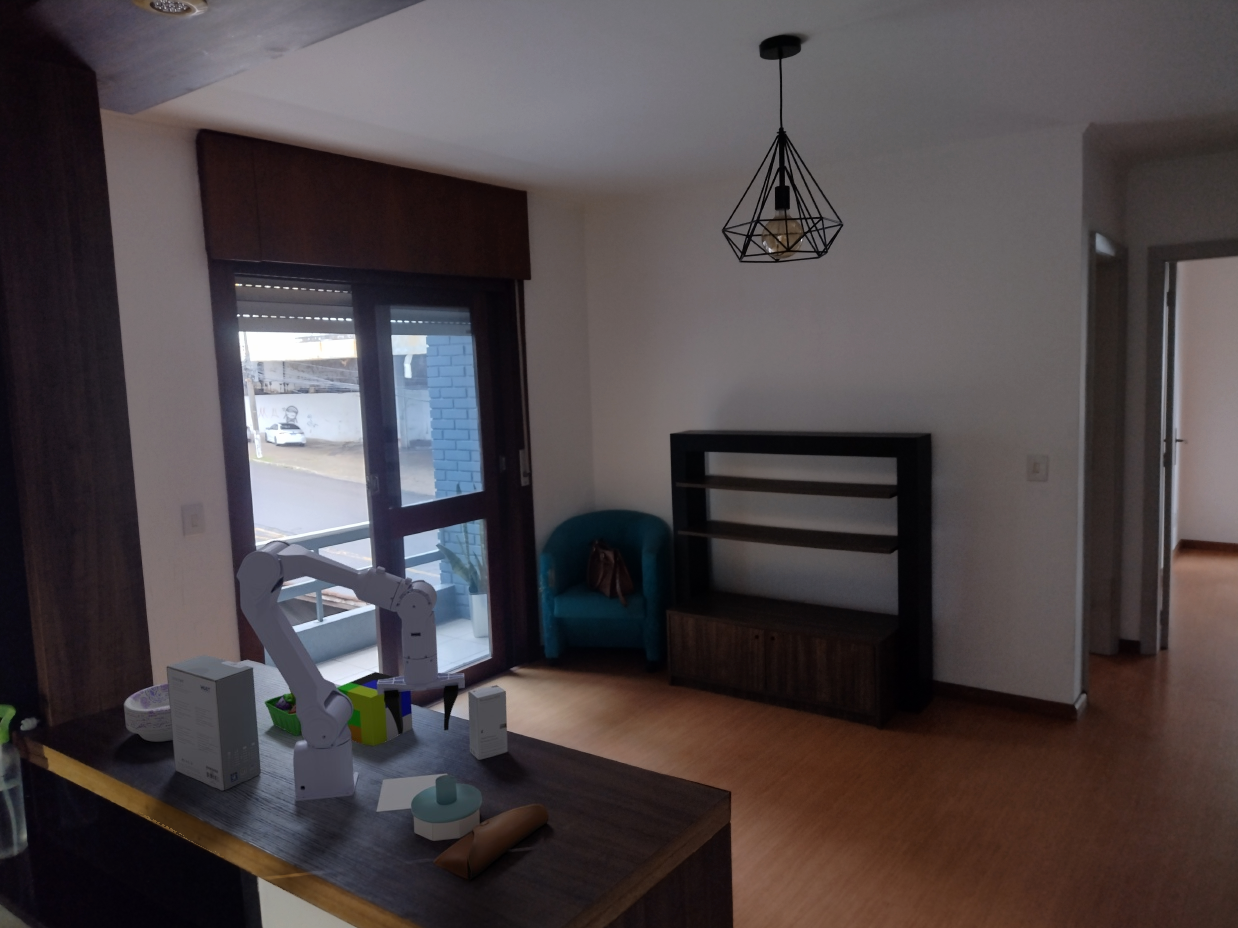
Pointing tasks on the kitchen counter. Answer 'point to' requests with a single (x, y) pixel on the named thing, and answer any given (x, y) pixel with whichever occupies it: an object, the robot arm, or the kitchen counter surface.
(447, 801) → the lid
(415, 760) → the kitchen counter surface
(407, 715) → the puzzle toy
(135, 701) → the paper bowls
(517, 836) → the sunglasses case
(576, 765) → the kitchen counter surface
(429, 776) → the plate
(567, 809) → the kitchen counter surface
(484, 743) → the skincare box
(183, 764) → the hard drive box
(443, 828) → the bowl
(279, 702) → the fruit basket
